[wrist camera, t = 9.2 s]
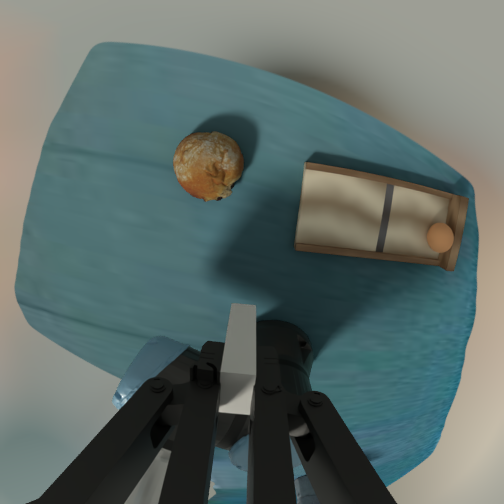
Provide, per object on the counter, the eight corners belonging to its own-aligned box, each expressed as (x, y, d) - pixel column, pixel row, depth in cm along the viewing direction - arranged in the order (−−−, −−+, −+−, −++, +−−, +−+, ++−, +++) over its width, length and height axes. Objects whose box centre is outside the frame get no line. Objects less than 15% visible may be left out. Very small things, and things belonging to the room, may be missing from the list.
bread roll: (243, 143, 43) (240, 114, 35) (246, 203, 41) (243, 182, 33) (182, 150, 43) (169, 123, 35) (181, 208, 41) (164, 189, 33)
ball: (418, 247, 42) (437, 247, 42) (437, 257, 37) (455, 256, 38) (424, 218, 40) (442, 220, 41) (443, 226, 35) (461, 227, 36)
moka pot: (286, 475, 63) (290, 528, 44) (335, 470, 63) (346, 521, 44) (283, 486, 66) (286, 535, 46) (329, 482, 66) (338, 529, 46)
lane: (440, 263, 44) (453, 271, 40) (293, 246, 43) (298, 255, 39) (453, 195, 40) (468, 198, 36) (304, 162, 40) (310, 161, 35)
